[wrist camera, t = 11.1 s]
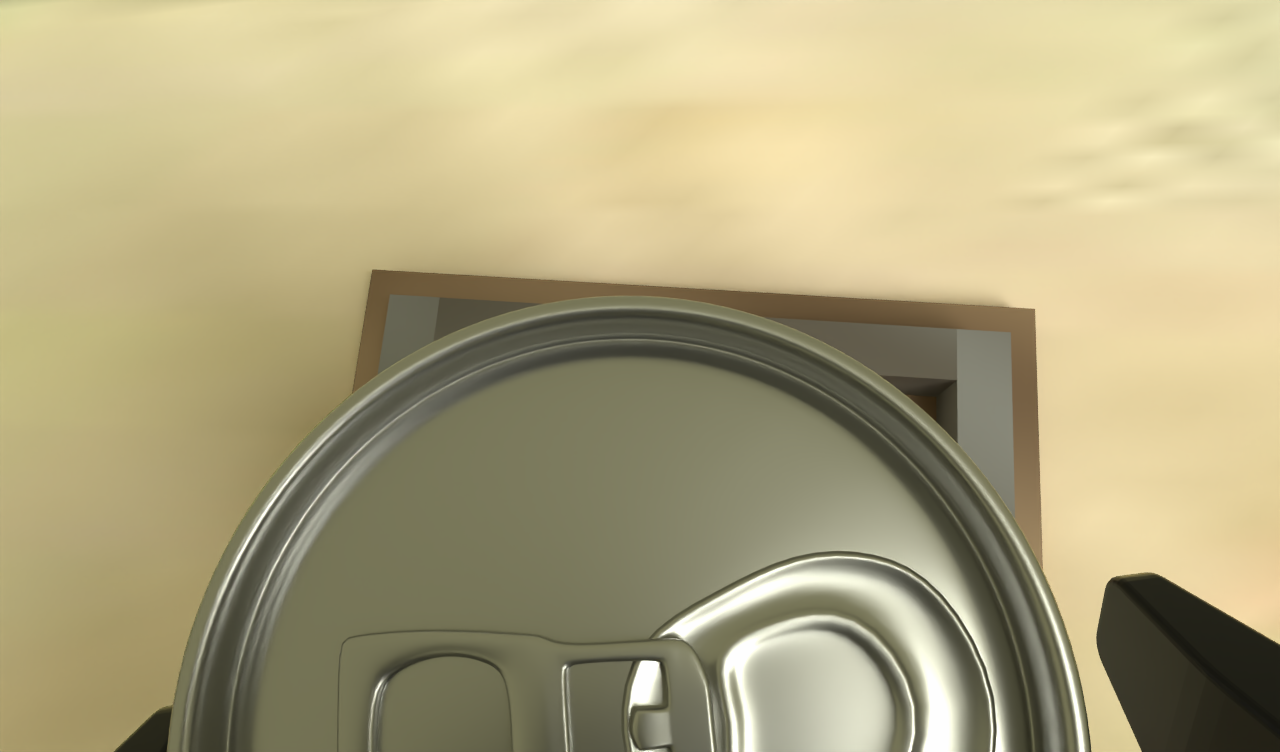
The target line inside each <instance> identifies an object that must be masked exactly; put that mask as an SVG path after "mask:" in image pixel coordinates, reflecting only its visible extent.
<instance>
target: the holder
mask: <svg viewBox="0 0 1280 752" xmlns="http://www.w3.org/2000/svg"><path fill="white" fill-rule="evenodd" d="M603 296H652V297H667V298H676V299H685V300H691V301H697V302H704V303H709V304H714V305H719V306H723V307H728V308H732V309H735V310H739V311H743V312H747V313H750V314H753V315H757V316H760V317H763V318H766V319H769V320H772V321H775V322H777V323H780V324H783V325H785V326H788V327H790V328H793V329H795V330H798V331H800V332H802V333H805V334H807V335H809V336H811V337H813V338H815V339H818V340H820V341H822V342H824V343H826V344H827V345H829V346H831V347H833V348H835V349H837V350H839V351H841V352H842V353H844V354H846V355H848V356H849V357H851V358H853V359H854V360H856V361H858V362H859V363H861V364H863V365H864V366H866V367H867V368H869V369H870V370H872V371H873V372H875V373H876V374H878V375H879V376H881V377H882V378H883V379H885V380H886V381H888V382H889V383H890V384H892V385H893V386H894V387H896V388H897V389H898V390H900V391H901V392H902V393H903V394H905V395H906V396H907V397H908V398H910V399H911V400H912V401H913V402H914V403H916V404H917V405H918V406H919V407H920V408H921V409H923V410H924V411H925V412H926V413H927V414H928V415H929V416H930V417H931V418H932V419H933V420H934V421H936V422H937V423H938V424H939V425H940V426H941V427H942V428H943V429H944V430H945V431H946V432H947V433H948V434H949V435H950V436H951V437H952V438H953V439H954V441H955V442H956V443H957V444H958V445H959V446H960V447H961V448H962V449H963V450H964V452H965V453H966V454H967V455H968V456H969V457H970V458H971V460H972V461H973V462H974V463H975V464H976V466H977V467H978V468H979V469H980V471H981V472H982V473H983V474H984V476H985V477H986V478H987V479H988V481H989V482H990V484H991V485H992V486H993V488H994V489H995V490H996V492H997V493H998V495H999V496H1000V497H1001V499H1002V500H1003V502H1004V503H1005V505H1006V506H1007V508H1008V509H1009V511H1010V512H1011V514H1012V515H1013V517H1014V519H1015V520H1016V522H1017V524H1018V525H1019V527H1020V529H1021V530H1022V532H1023V534H1024V535H1025V537H1026V539H1027V541H1028V543H1029V545H1030V547H1031V548H1032V550H1033V552H1034V554H1035V556H1036V558H1037V560H1038V562H1039V564H1040V566H1041V568H1042V570H1043V563H1042V529H1041V496H1040V463H1039V430H1038V396H1037V363H1036V330H1035V309H1026V308H1009V307H992V306H975V305H958V304H942V303H925V302H908V301H891V300H874V299H857V298H841V297H824V296H807V295H790V294H773V293H757V292H740V291H723V290H706V289H689V288H672V287H656V286H639V285H622V284H605V283H588V282H571V281H555V280H538V279H521V278H504V277H487V276H470V275H454V274H437V273H420V272H403V271H386V270H372V276H371V282H370V288H369V294H368V300H367V306H366V312H365V319H364V325H363V331H362V337H361V343H360V349H359V355H358V362H357V368H356V374H355V380H354V386H353V392H352V394H353V393H354V392H355V391H357V390H358V389H359V388H361V387H362V386H363V385H365V384H366V383H367V382H369V381H370V380H371V379H373V378H374V377H376V376H377V375H378V374H380V373H381V372H383V371H384V370H386V369H387V368H389V367H391V366H392V365H394V364H395V363H397V362H398V361H400V360H402V359H403V358H405V357H407V356H408V355H410V354H412V353H413V352H415V351H417V350H419V349H421V348H423V347H425V346H427V345H428V344H430V343H432V342H434V341H436V340H439V339H441V338H443V337H445V336H447V335H449V334H451V333H454V332H456V331H458V330H461V329H463V328H466V327H468V326H471V325H473V324H476V323H479V322H481V321H484V320H487V319H490V318H493V317H496V316H499V315H502V314H506V313H509V312H513V311H517V310H520V309H524V308H528V307H533V306H537V305H542V304H547V303H552V302H558V301H564V300H572V299H580V298H590V297H603Z"/></svg>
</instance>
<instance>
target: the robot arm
mask: <svg viewBox="0 0 1280 752" xmlns="http://www.w3.org/2000/svg"><path fill="white" fill-rule="evenodd" d="M1096 638H1097V648H1098V652H1099V656H1100V659H1101V661H1102V664H1103V666H1104V668H1105V670H1106V672H1107V675H1108V677H1109V679H1110V681H1111V684H1112V686H1113V688H1114V690H1115V693H1116V695H1117V697H1118V699H1119V701H1120V704H1121V706H1122V708H1123V710H1124V713H1125V715H1126V717H1127V719H1128V722H1129V724H1130V726H1131V728H1132V730H1133V733H1134V735H1135V737H1136V739H1137V742H1138V744H1139V746H1140V748H1141V751H1142V752H1280V644H1278V643H1276V642H1275V641H1273V640H1271V639H1269V638H1268V637H1266V636H1264V635H1263V634H1261V633H1259V632H1257V631H1256V630H1254V629H1252V628H1250V627H1249V626H1247V625H1245V624H1244V623H1242V622H1240V621H1238V620H1237V619H1235V618H1233V617H1231V616H1230V615H1228V614H1226V613H1224V612H1223V611H1221V610H1219V609H1218V608H1216V607H1214V606H1212V605H1211V604H1209V603H1207V602H1205V601H1204V600H1202V599H1200V598H1199V597H1197V596H1195V595H1193V594H1192V593H1190V592H1188V591H1186V590H1185V589H1183V588H1181V587H1180V586H1178V585H1176V584H1174V583H1173V582H1171V581H1169V580H1167V579H1166V578H1164V577H1162V576H1160V575H1158V574H1154V573H1138V574H1131V575H1124V576H1116V577H1114V578H1112V579H1111V580H1110V581H1109V582H1108V583H1107V585H1106V588H1105V593H1104V598H1103V603H1102V608H1101V614H1100V619H1099V624H1098V629H1097V637H1096ZM172 708H173V705H172V706H167V707H164V708H161V709H160V710H158V711H156V712H155V713H154V714H153V715H152V716H151V717H149V718H148V719H147V720H146V721H145V722H144V723H143V724H142V725H141V726H140V727H139V728H138V729H137V730H136V731H135V732H134V733H133V734H132V735H131V736H130V737H129V738H128V739H127V740H125V741H124V742H123V743H122V744H121V745H120V746H119V747H118V748H117V749H116V750H115V751H114V752H167V747H168V737H169V728H170V721H171V714H172Z"/></svg>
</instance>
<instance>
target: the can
mask: <svg viewBox="0 0 1280 752" xmlns="http://www.w3.org/2000/svg"><path fill="white" fill-rule="evenodd" d="M167 752H1091V743H1090V735H1089V727H1088V719H1087V713H1086V707H1085V702H1084V696H1083V691H1082V686H1081V682H1080V677H1079V673H1078V668H1077V665H1076V661H1075V657H1074V654H1073V650H1072V646H1071V643H1070V640H1069V637H1068V634H1067V631H1066V628H1065V624H1064V621H1063V619H1062V616H1061V613H1060V611H1059V608H1058V605H1057V603H1056V600H1055V597H1054V595H1053V593H1052V591H1051V588H1050V586H1049V584H1048V581H1047V579H1046V577H1045V574H1044V572H1043V570H1042V568H1041V566H1040V564H1039V562H1038V560H1037V558H1036V556H1035V554H1034V552H1033V550H1032V548H1031V547H1030V545H1029V543H1028V541H1027V539H1026V537H1025V535H1024V534H1023V532H1022V530H1021V529H1020V527H1019V525H1018V524H1017V522H1016V520H1015V519H1014V517H1013V515H1012V514H1011V512H1010V511H1009V509H1008V508H1007V506H1006V505H1005V503H1004V502H1003V500H1002V499H1001V497H1000V496H999V495H998V493H997V492H996V490H995V489H994V488H993V486H992V485H991V484H990V482H989V481H988V479H987V478H986V477H985V476H984V474H983V473H982V472H981V471H980V469H979V468H978V467H977V466H976V464H975V463H974V462H973V461H972V460H971V458H970V457H969V456H968V455H967V454H966V453H965V452H964V450H963V449H962V448H961V447H960V446H959V445H958V444H957V443H956V442H955V441H954V439H953V438H952V437H951V436H950V435H949V434H948V433H947V432H946V431H945V430H944V429H943V428H942V427H941V426H940V425H939V424H938V423H937V422H936V421H934V420H933V419H932V418H931V417H930V416H929V415H928V414H927V413H926V412H925V411H924V410H923V409H921V408H920V407H919V406H918V405H917V404H916V403H914V402H913V401H912V400H911V399H910V398H908V397H907V396H906V395H905V394H903V393H902V392H901V391H900V390H898V389H897V388H896V387H894V386H893V385H892V384H890V383H889V382H888V381H886V380H885V379H883V378H882V377H881V376H879V375H878V374H876V373H875V372H873V371H872V370H870V369H869V368H867V367H866V366H864V365H863V364H861V363H859V362H858V361H856V360H854V359H853V358H851V357H849V356H848V355H846V354H844V353H842V352H841V351H839V350H837V349H835V348H833V347H831V346H829V345H827V344H826V343H824V342H822V341H820V340H818V339H815V338H813V337H811V336H809V335H807V334H805V333H802V332H800V331H798V330H795V329H793V328H790V327H788V326H785V325H783V324H780V323H777V322H775V321H772V320H769V319H766V318H763V317H760V316H757V315H753V314H750V313H747V312H743V311H739V310H735V309H732V308H728V307H723V306H719V305H714V304H709V303H704V302H697V301H691V300H685V299H676V298H667V297H652V296H603V297H590V298H580V299H572V300H564V301H558V302H552V303H547V304H542V305H537V306H533V307H528V308H524V309H520V310H517V311H513V312H509V313H506V314H502V315H499V316H496V317H493V318H490V319H487V320H484V321H481V322H479V323H476V324H473V325H471V326H468V327H466V328H463V329H461V330H458V331H456V332H454V333H451V334H449V335H447V336H445V337H443V338H441V339H439V340H436V341H434V342H432V343H430V344H428V345H427V346H425V347H423V348H421V349H419V350H417V351H415V352H413V353H412V354H410V355H408V356H407V357H405V358H403V359H402V360H400V361H398V362H397V363H395V364H394V365H392V366H391V367H389V368H387V369H386V370H384V371H383V372H381V373H380V374H378V375H377V376H376V377H374V378H373V379H371V380H370V381H369V382H367V383H366V384H365V385H363V386H362V387H361V388H359V389H358V390H357V391H355V392H354V393H353V394H352V395H350V396H349V397H348V398H347V399H345V400H344V401H343V402H342V403H341V404H340V405H339V406H337V407H336V408H335V409H334V410H333V411H332V412H330V413H329V414H328V415H327V416H326V417H325V418H324V419H323V420H322V421H321V422H320V423H319V424H318V425H317V426H316V427H315V428H314V429H313V430H312V431H311V432H310V433H309V434H308V435H307V436H306V437H305V438H304V439H303V440H302V441H301V442H300V443H299V444H298V446H297V447H296V448H295V449H294V450H293V451H292V452H291V453H290V455H289V456H288V457H287V458H286V459H285V460H284V462H283V463H282V464H281V465H280V467H279V468H278V469H277V470H276V472H275V473H274V474H273V475H272V477H271V478H270V479H269V481H268V482H267V483H266V485H265V486H264V488H263V489H262V490H261V492H260V493H259V494H258V496H257V497H256V499H255V500H254V502H253V503H252V505H251V506H250V508H249V509H248V511H247V512H246V514H245V516H244V517H243V519H242V521H241V522H240V524H239V526H238V527H237V529H236V531H235V532H234V534H233V536H232V538H231V540H230V541H229V543H228V545H227V547H226V549H225V551H224V553H223V555H222V557H221V559H220V561H219V563H218V565H217V567H216V569H215V571H214V573H213V575H212V578H211V580H210V582H209V585H208V587H207V589H206V591H205V594H204V597H203V599H202V602H201V604H200V607H199V609H198V612H197V615H196V618H195V621H194V624H193V627H192V630H191V633H190V636H189V639H188V643H187V646H186V649H185V653H184V656H183V660H182V664H181V669H180V673H179V677H178V681H177V686H176V691H175V696H174V701H173V708H172V714H171V721H170V728H169V737H168V747H167Z"/></svg>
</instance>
